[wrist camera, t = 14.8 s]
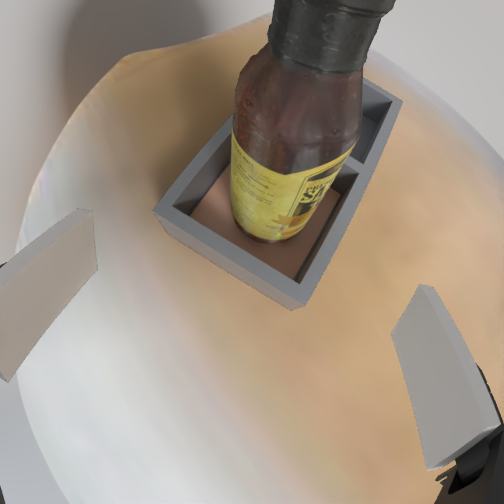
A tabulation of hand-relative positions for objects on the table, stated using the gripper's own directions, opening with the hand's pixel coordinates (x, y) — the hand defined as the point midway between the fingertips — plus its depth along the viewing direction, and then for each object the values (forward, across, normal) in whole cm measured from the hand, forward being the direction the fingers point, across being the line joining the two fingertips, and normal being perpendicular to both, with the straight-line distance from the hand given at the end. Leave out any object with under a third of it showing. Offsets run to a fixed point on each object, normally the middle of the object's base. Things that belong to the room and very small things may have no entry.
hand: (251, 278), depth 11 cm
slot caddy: (+18, +2, 0) cm, 18 cm away
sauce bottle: (+14, 0, -3) cm, 14 cm away
